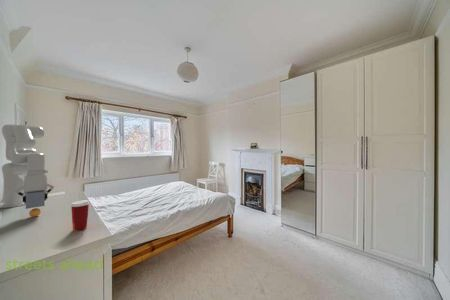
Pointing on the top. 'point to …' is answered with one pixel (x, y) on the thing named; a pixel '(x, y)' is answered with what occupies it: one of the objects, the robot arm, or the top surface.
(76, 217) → the paper cup
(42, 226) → the top surface
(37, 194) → the pale blue-grey cube
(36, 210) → the ball
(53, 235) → the top surface
